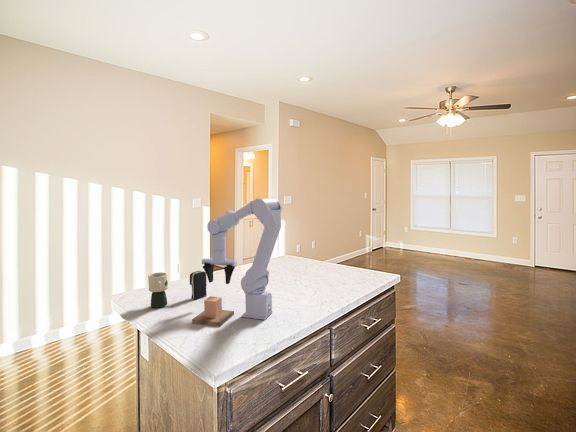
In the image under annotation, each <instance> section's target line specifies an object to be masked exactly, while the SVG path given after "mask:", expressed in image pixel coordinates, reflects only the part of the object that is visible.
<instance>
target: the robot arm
mask: <svg viewBox="0 0 576 432" xmlns="http://www.w3.org/2000/svg"><path fill="white" fill-rule="evenodd" d="M282 210H283V206H282V204H281V203H280V201H279V199H277V198H276V197H270V198H269V197H268V198H266V197H265V198H258V197H257V198H255V199H254V200H250V202H249V203H246V205H244V206H242V207H241V208H239V209H238V210H236V211H233V210H227V211H225V214H223V215H219V216H218V217H217V218H216V219H213V218H212V219H210V220H209V221H208V223H207V232H209V234H210V245H211V246H210V251H211V255H210V257H211V258H202V259H201V265H203V266H202V269H203V271H204V272H205V273H206V278H207V280H208V283H212V282H214V268H215V265H216V266H224V267H223V270H224V274H225V284H226V285H229V284H230V283H231V280H232V276H233V272H234V270H235V268H236V266H237V260H232V259H229V258H227V242H226V240H227V239H226V237H227V236H228V234H227V233H228V231H229V230H230V229H231V228H233V227H235V226H237V225H239V223H240V221H241V220H242V219H244V218H246V217H249V216H251V215H254V216H255V217H256V219H257V220H258V221H259V222H260V223H261V224H262V225H263V230H262V234H261V237H260V241H259V243H258V246H257V249H256V252H255V256H254V259H253V262H252V264H251V266H249V269H247V270H246V271H245V273H244V276H243V277H241V280H240V286H241V289H242V291H243V292H244V294H245V299H244V300H245V312H244V313H242V314H241V317H242V318H249V319H256V320H266V319H268V318H269V316H270V315H271V314H273V312H274V310H273V298H272V297H273V296H272V293H271V292H270V291H269V292H268V291H266V290H267V289H266V288H267V286H268V285H269V281H270V279H269V276H270V271H269V270H268V266H269V263H270V260H271V258H272V255H273V252H274V248H275V247H276V246H275V245H276V243H277V240H278V238H279V233H280V230H281V228H282V218H281V213H282Z"/></svg>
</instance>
